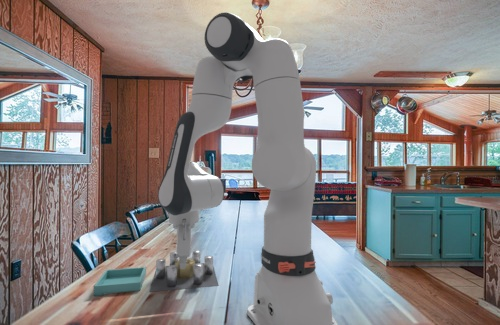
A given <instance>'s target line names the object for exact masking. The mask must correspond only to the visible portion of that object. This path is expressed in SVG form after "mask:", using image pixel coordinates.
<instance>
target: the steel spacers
mask: <svg viewBox="0 0 500 325" xmlns="http://www.w3.org/2000/svg"><path fill="white" fill-rule="evenodd" d="M176 253H177V251H171V252H169V265H167V266H168V267H167V287H175V286H177V266H176V265H175V263H176V262H177V261H179V257H177V254H176ZM191 254H192V255H191V256H192V257H191V259H192V260H194V261H195V264H194V265H193V284H194V285H200V284H202V283H203V264H201V250H198V249H196V250H192V252H191ZM166 262H167V261H166V259H165V258H158V259H156V261H155V271H156V279H163V278H165V266H166ZM203 263H204V274H205V275H212V274H213V267H214V256H213V255H206V256H204V262H203Z"/></svg>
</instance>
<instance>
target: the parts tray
mask: <svg viewBox="0 0 500 325" xmlns="http://www.w3.org/2000/svg"><path fill="white" fill-rule="evenodd" d="M146 275H147V267H146V266H141V267H140V266H139V267H128V268H115V269H106V270H105V271H104V272H103V273H102V275H101V276H100V277H99V279H98V280H97V281H96V283H95V284H94V285H93V297H99V296H100V297H101V296H104V295H106V294H108V295H109V294H118V293H128V292H139V291H141V289H142V287H143V283H144V281H145V278H146Z"/></svg>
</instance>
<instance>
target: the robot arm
mask: <svg viewBox="0 0 500 325" xmlns="http://www.w3.org/2000/svg"><path fill="white" fill-rule="evenodd" d="M204 31H205V32H204V43H205V47H206V49H207V50H208V51H209V52H208V53H209V54H211V55H209V56H205V57H203V58H202V59H200V60H199V61H198V63H197V66H196V70H195V73H194V77H193V83H192V89H191V99H190V104H189V105H188V108H187V110H186V112H184V113H183V114H181V115H180V116H179V119H178V120H177V124H176V127H175V130H174V133H173V139H172V142H171V146H170V151H169V155H168V158H167V163H166V166H165V167H166V168H165V172H164V175H163V177H162V180H161V182H160V185H159V187H158V191H157V198H158V200H157V201H158V203H159V205H160V206H161V208H163V210H165V212H167V213H168V223H170V224H172V228H173V229H175V230H176V252H177V253H176V254H177V257H178V261H180V269H185V268H186V261H187V259H188V258H189V257H190V256H191V254H192V252H191V249H192V247H191V246H192V244H191V243H192V229H194V228H195V226H196V224H197V223H199V221H200V211H203V210H207V209H213V208H217V207H219V206H220V205H221V204H222V202H223V200H224V197H225V186H224V183H223V181H222V179H221V178H220V177H219V176H217V175H213V174H211V173H209V172H208V171H205V170H204V169H203V168H202V167H201V165H200V164H199V163H198V162H196V161H195V162H194V161H191V160H192V155H193V151H194V148H195V145H196V143H197V142H198V140H199V139H201V137H203V136H204V135H207V134H210V133H212V132H216V131H217V130H220V129H222V127H224V126H226V124H227V123H228V121H229V120H230V118H231V112H232V104H233V90H234V85H235V83H236V81H237V80H238V81H240V82H247V81H249V80H253V90H254V97H255V104H256V105H255V107H256V112H257V136H256V137H257V138H256V147H255V148H256V149H255V152H254V154H253V155H252V160H251V171H252V172H251V173H252V175H253V176H254V177H253V178H254V179H255V180H256V181H257V182H258V183H259V185H261V186H262V187H264V188H267V189H269V198H268V202H267V204H266V205H267V206H266V208H265V211H264V214H263V246H261V252H260V258H261V260H260V262H261V267H260V269H259V271H258V272H256V274H255V276H254V279H255V280H254V287H253V288H254V289H253V290H254V291H253V304H251V305H249V306H248V307H247V308H246V315H247V316H248V317H249V318H250V320H252V322H253V324H254V325H339V324H338V322H337V321H336V319H335V317H334V316H333V311H332V305H333V302H334V301H333V294H332V293H331V292H325V289H324V287H323V284H324V283H323V281H322V280H321V279H320V278H319V277H318V274H317V273H316V268H317V265H316V264H317V263H316V261H315V260H316V259H315V255H314V250H313V249H312V222H313V221H312V216H313V209H314V206H313V205H314V199H315V189H316V177H317V161H316V160H317V159H316V158H315V155H314V154H313V153H312V151H311V150H310V149H308V148H307V147H305V136H304V134H305V131H304V130H305V128H304V126H305V122H304V120H305V114H306V113H305V106H304V100H303V92H302V85H301V79H300V74H299V69H298V68H299V67H298V65H297V62H296V57H295V55H294V53H293V49H292V47H291V45H290V43H288V42H287V40H284V39H282V38H269V39H268V38H267V39H265V40H264V39H263V38H262V37H261V35H260V34H259V33H258V32H257V31H256V30H255V29H254V28H253V27H252V26H250V25H249V24H248V23H247V22H245V21H244V20H243V19H242V17H239V16H238V15H235V14H234V13H231V12H219V13H217V14H216V15H214V16H213V17H212V19H210V21H209V22H208V24H207V26H206V28H205V30H204Z"/></svg>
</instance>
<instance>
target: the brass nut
mask: <svg viewBox="0 0 500 325" xmlns="http://www.w3.org/2000/svg"><path fill="white" fill-rule="evenodd" d="M194 264H195V261H194V260H192V258H187V261H186V268H185V269H180V261H179V260H178V261H177V262H176V263H175V265H176V266H177V278H179V279H188V278H191V277H193V265H194Z"/></svg>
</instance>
